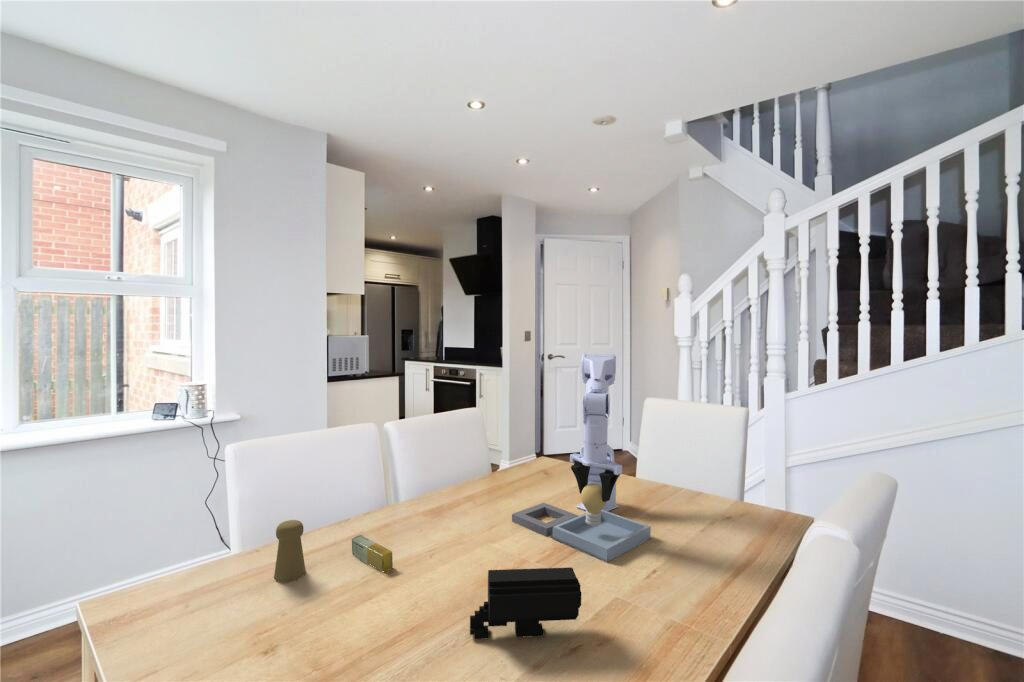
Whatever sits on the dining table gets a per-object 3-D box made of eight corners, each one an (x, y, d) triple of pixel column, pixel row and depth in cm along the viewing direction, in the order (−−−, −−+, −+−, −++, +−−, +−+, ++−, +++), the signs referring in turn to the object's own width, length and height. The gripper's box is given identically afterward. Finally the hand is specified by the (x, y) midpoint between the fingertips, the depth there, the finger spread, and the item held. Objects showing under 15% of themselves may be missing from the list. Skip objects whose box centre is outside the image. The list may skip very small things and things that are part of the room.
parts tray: (597, 519, 132) (597, 508, 132) (650, 538, 120) (650, 526, 120) (552, 538, 119) (552, 526, 119) (606, 562, 108) (607, 549, 108)
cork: (312, 570, 103) (312, 518, 103) (290, 584, 97) (290, 530, 97) (289, 565, 105) (289, 514, 105) (266, 579, 99) (266, 525, 99)
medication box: (351, 555, 110) (350, 538, 110) (361, 551, 112) (361, 534, 112) (383, 573, 103) (382, 555, 102) (393, 568, 105) (393, 550, 104)
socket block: (543, 509, 138) (543, 502, 138) (578, 522, 129) (578, 515, 129) (511, 521, 130) (512, 514, 130) (546, 536, 121) (546, 528, 121)
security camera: (469, 622, 86) (470, 566, 86) (573, 618, 87) (574, 562, 87) (469, 648, 79) (470, 587, 79) (582, 643, 81) (583, 583, 80)
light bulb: (606, 521, 123) (607, 481, 123) (606, 531, 117) (607, 489, 117) (580, 518, 124) (582, 479, 124) (579, 528, 118) (580, 486, 118)
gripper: (562, 439, 123) (561, 492, 123) (610, 450, 112) (609, 509, 113) (580, 435, 128) (579, 486, 128) (627, 445, 117) (626, 501, 117)
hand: (594, 496), depth 121 cm, fingers closed on light bulb, 6 cm apart
